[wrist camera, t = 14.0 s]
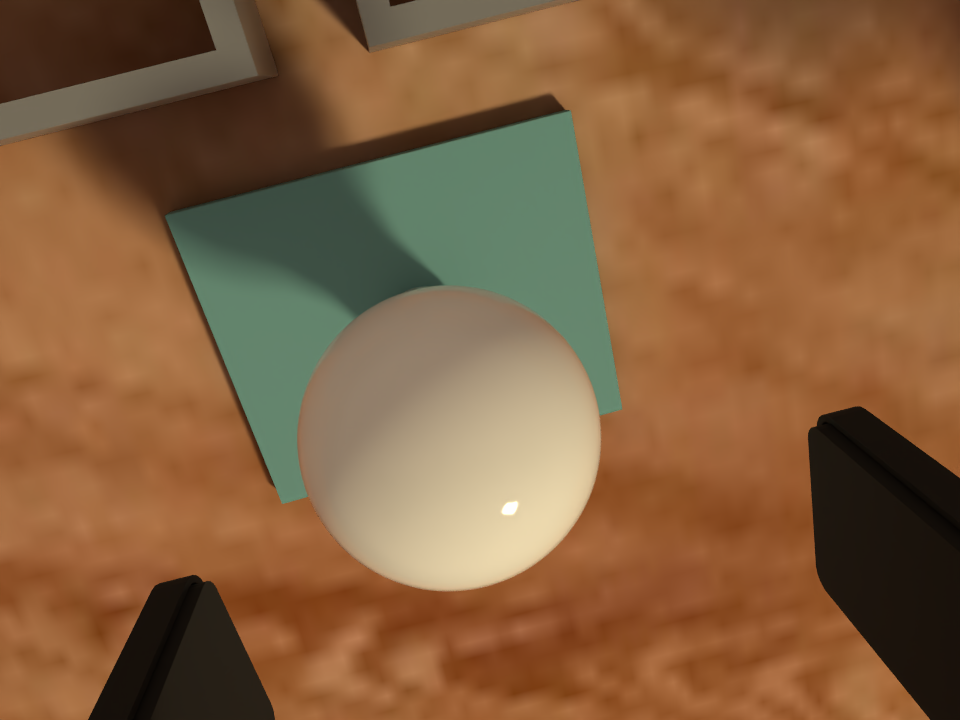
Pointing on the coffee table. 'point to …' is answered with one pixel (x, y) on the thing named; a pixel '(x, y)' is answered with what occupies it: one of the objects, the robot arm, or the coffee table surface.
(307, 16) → the coffee table surface
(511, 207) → the mat
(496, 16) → the box
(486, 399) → the lightbulb
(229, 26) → the box
